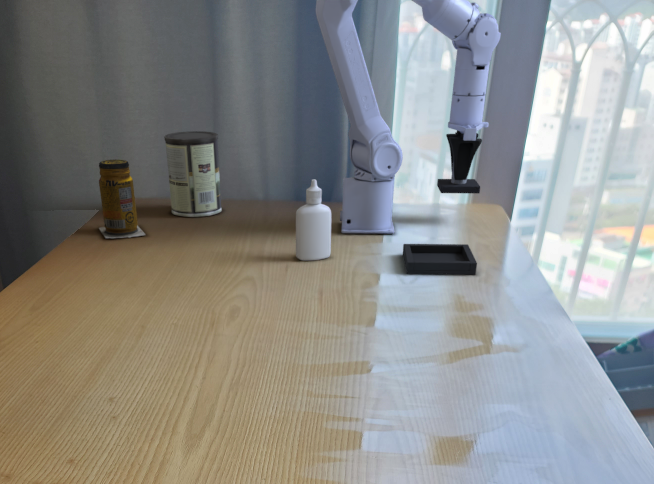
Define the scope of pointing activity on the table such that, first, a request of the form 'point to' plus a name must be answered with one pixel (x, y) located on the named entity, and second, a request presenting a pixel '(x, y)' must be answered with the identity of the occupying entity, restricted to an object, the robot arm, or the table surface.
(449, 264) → the socket pad
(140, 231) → the condiment
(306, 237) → the eye dropper bottle
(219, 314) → the table surface
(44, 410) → the table surface
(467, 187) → the stud pad
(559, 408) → the table surface
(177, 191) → the coffee can
